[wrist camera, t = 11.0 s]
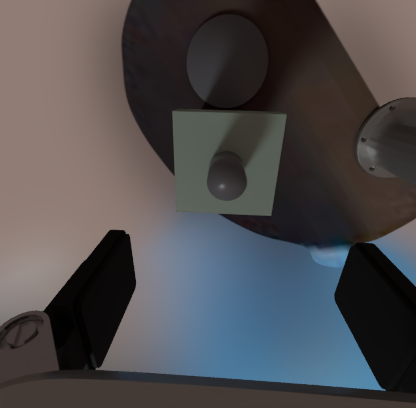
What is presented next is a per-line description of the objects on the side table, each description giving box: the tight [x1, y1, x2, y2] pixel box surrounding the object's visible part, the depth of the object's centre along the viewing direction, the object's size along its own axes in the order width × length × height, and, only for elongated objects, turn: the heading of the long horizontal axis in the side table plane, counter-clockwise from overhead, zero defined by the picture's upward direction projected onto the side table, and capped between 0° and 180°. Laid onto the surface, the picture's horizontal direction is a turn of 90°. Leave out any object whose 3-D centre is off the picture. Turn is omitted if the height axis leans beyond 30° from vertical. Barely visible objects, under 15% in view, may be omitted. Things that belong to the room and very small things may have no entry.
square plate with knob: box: [173, 109, 287, 216], centre depth 22 cm, size 10×10×7 cm
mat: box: [187, 14, 268, 108], centre depth 36 cm, size 12×12×1 cm
